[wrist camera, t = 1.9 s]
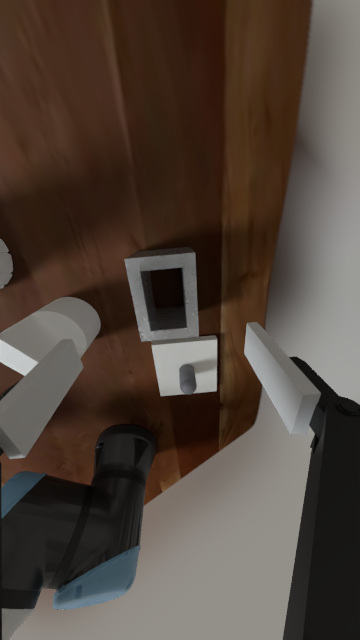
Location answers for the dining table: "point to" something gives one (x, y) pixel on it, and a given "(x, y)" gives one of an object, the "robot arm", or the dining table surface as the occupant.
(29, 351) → the cylinder with rectangular tab
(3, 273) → the decorative vase
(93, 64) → the dining table surface
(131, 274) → the steel link
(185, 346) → the keeper board
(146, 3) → the dining table surface
